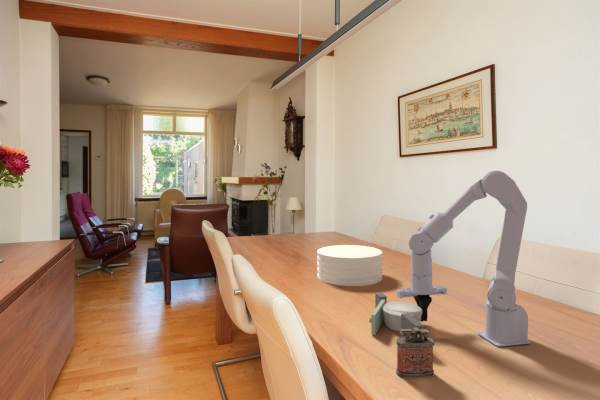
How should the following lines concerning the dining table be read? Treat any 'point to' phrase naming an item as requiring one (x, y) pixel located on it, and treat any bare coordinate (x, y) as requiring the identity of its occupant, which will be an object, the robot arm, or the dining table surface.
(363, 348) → the dining table surface
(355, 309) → the dining table surface
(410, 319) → the grey angled pieces
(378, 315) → the door
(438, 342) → the dining table surface
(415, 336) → the lighter
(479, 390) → the dining table surface
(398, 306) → the ramekin
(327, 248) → the plate stack
